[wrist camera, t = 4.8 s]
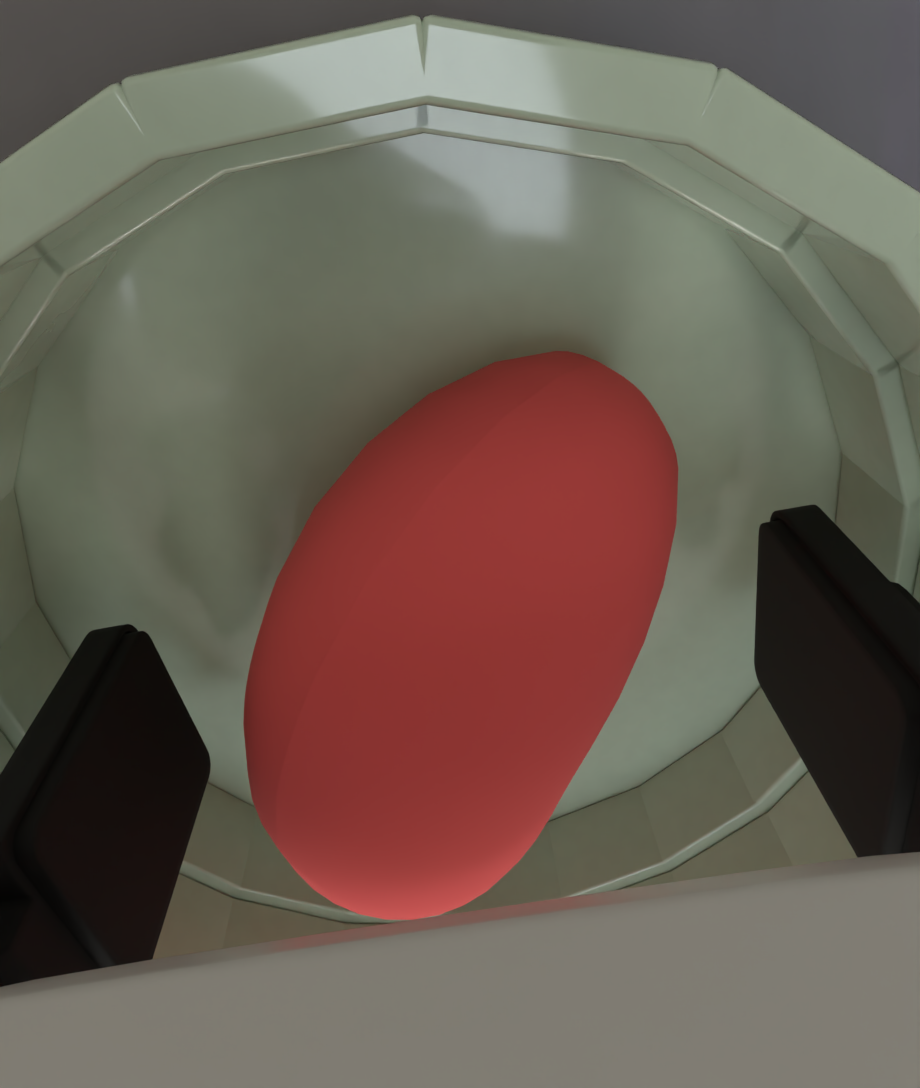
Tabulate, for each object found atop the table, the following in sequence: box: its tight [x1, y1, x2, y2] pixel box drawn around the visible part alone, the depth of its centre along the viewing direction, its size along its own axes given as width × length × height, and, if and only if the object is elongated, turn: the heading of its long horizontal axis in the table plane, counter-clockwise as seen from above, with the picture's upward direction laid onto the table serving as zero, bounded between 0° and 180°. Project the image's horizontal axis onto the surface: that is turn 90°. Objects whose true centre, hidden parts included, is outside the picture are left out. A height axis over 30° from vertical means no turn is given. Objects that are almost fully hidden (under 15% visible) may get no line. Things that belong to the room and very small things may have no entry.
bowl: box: [0, 14, 920, 959], centre depth 11 cm, size 15×15×4 cm
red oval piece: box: [243, 351, 678, 920], centre depth 11 cm, size 5×9×6 cm, turn 150°
